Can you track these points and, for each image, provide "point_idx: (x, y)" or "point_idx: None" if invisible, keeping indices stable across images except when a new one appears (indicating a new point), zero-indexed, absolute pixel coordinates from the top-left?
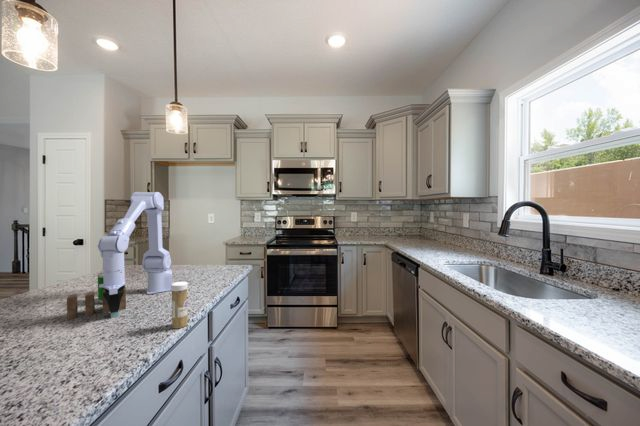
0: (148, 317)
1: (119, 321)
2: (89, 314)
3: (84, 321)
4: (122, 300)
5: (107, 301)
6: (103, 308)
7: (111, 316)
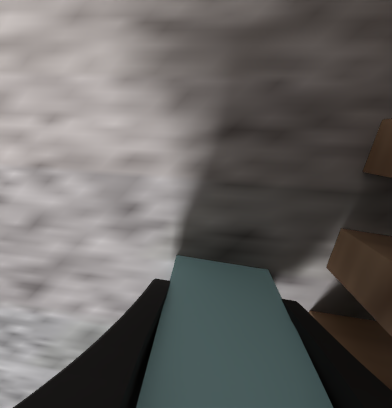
0: None
1: (78, 281)
2: (379, 147)
3: (246, 107)
4: None
5: (44, 384)
6: (363, 250)
7: (174, 264)
